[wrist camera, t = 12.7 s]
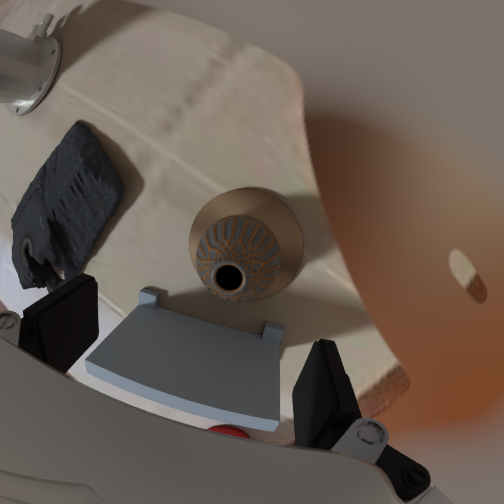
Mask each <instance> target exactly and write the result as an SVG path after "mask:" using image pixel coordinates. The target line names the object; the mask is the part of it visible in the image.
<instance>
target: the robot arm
mask: <svg viewBox="0 0 504 504" xmlns="http://www.w3.org/2000/svg"><path fill="white" fill-rule="evenodd" d="M53 18H54V15H53V14H44V15H43V17H42V19H41V21H40V23H39V25H33V26H32V28H31V30H30V32H29V35H28V37H27V38H25V37H22V36H19V35H17V34H14V33H11V32H8V31H6V30H3V29H0V103H6V107H7V110H8V111H9V113H10V114H12V115H16V116H22V115H25V114H27V113H28V112H30V111H31V110H32V109H34V108H35V107H36V106H37V104H38V103H39V102H40V101H41V100H42V98H43V97H44V95H45V94H46V92H47V91H48V89H49V87H50V86H51V84H52V82H53V80H54V77H55V75H56V73H57V70H58V67H59V63H60V58H61V46H60V43H59V41H58V40H56V39H55V38H52V37H46V36H47V33H46V31H47V29H48V27H49V26H50V24H51V22H52V20H53ZM23 316H24V317H23V318H20V316H19V315H18V314H17V313H16V312H13V311H1V312H0V504H454V503H453V502H452V501H451V500H449V499H448V498H447V497H446V496H445V495H444V494H443V493H442V492H441V491H440V490H439V489H438V488H437V487H436V486H434V487H433V488H432V487H431V486H430V481H431V480H430V475H429V472H428V471H427V469H426V468H425V467H423V466H422V465H420V464H419V463H417V462H415V461H413V460H412V459H410V458H409V457H407V456H405V455H404V454H402V453H400V452H399V451H397V450H396V449H394V448H392V447H391V446H389V445H388V444H387V442H388V439H389V434H388V431H387V429H386V428H385V427H384V425H383V424H381V423H380V422H379V421H377V420H374V419H371V418H362V416H361V412H360V409H359V406H358V403H357V400H356V397H355V394H354V391H353V388H352V385H351V382H350V379H349V376H348V375H347V374H346V373H345V370H344V367H343V364H342V361H341V358H340V355H339V352H338V349H337V346H336V344H335V341H332V340H326V339H320V340H319V342H318V341H315V342H314V344H313V346H312V349H311V351H310V353H309V355H308V358H307V360H306V362H305V365H304V367H303V369H302V371H301V373H300V376H299V378H298V380H297V382H296V384H295V386H294V389H293V393H292V400H293V414H294V429H295V446H292V445H284V444H277V443H270V442H264V441H258V440H253V439H247V438H242V437H237V436H232V435H227V434H223V433H218V432H214V431H210V430H206V429H202V428H198V427H195V426H191V425H188V424H184V423H181V422H178V421H174V420H171V419H168V418H165V417H162V416H159V415H156V414H153V413H150V412H148V411H145V410H142V409H139V408H137V407H134V406H132V405H129V404H127V403H124V402H122V401H119V400H117V399H115V398H112V397H110V396H108V395H106V394H103V393H101V392H99V391H97V390H95V389H93V388H90V387H88V386H86V385H84V384H82V383H80V382H78V381H76V380H74V379H73V378H71V377H69V376H67V375H65V373H66V372H67V371H68V370H69V369H70V368H71V366H72V365H73V364H74V363H75V362H76V361H77V360H78V359H79V358H80V357H81V356H82V355H83V353H84V352H85V351H86V350H87V349H88V348H89V347H90V346H91V345H92V344H93V343H94V342H95V341H96V340H97V338H98V335H99V324H98V283H97V282H96V281H95V278H94V277H93V276H90V275H87V274H85V273H82V274H80V275H78V276H76V277H75V278H73V279H72V280H70V281H68V282H67V283H65V284H63V285H62V286H60V287H59V288H57V289H55V290H54V291H52V292H51V293H49V294H47V295H46V296H44V297H43V298H41V299H40V300H38V301H37V302H35V303H34V304H32V305H31V306H29V307H28V308H26V309H25V310H23Z"/></svg>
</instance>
